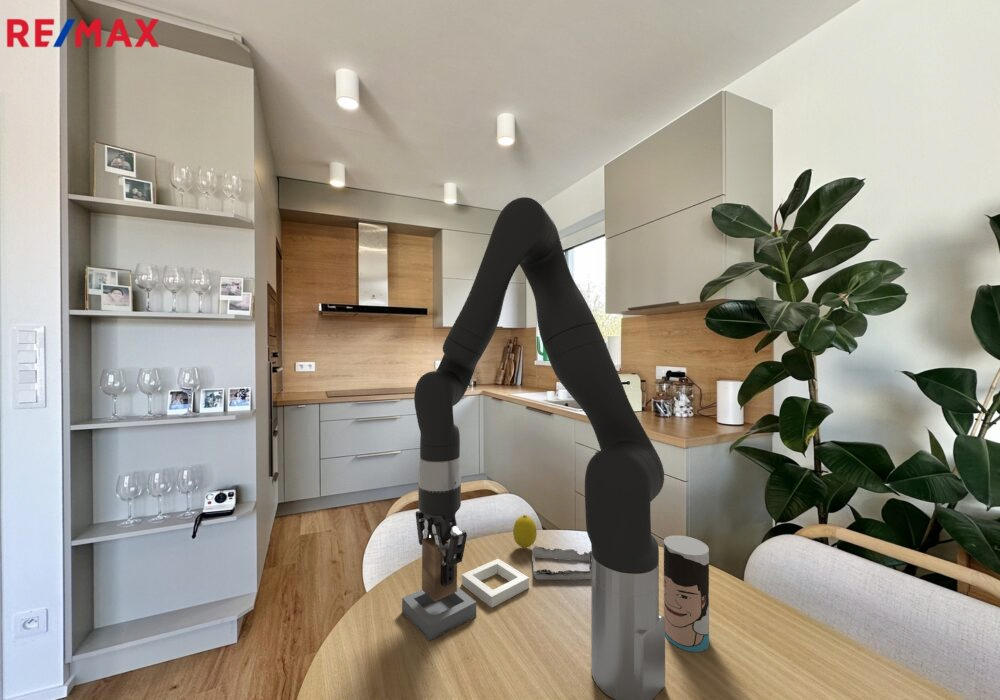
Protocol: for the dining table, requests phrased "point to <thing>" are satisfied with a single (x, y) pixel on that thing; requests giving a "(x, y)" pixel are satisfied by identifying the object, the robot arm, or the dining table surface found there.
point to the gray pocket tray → (438, 612)
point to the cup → (686, 592)
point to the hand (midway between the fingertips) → (439, 577)
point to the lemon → (524, 531)
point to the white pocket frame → (502, 593)
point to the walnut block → (435, 571)
